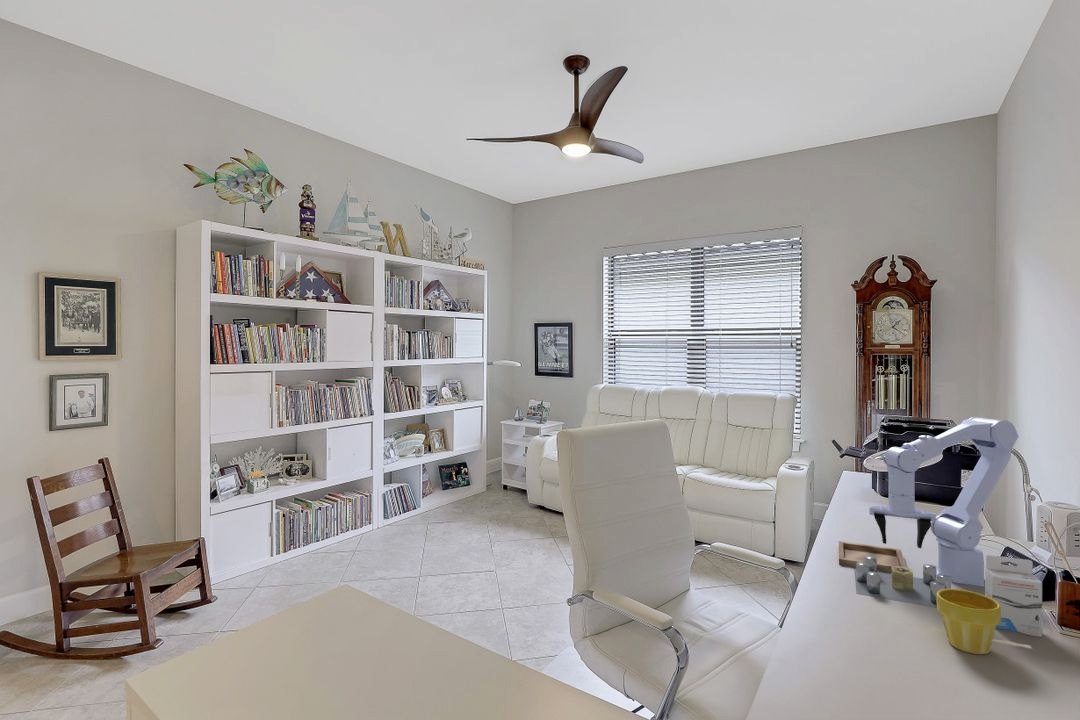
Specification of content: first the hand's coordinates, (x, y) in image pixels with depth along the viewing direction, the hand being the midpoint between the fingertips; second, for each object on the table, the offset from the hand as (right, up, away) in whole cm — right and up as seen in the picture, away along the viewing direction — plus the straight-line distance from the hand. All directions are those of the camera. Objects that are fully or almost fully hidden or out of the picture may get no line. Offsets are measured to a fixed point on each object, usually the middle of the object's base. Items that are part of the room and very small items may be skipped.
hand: (901, 544), depth 142 cm
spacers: (-3, -10, -5) cm, 12 cm away
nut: (-3, -9, -5) cm, 11 cm away
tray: (0, -9, +13) cm, 16 cm away
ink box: (+7, -10, -25) cm, 28 cm away
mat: (-3, -10, -5) cm, 12 cm away
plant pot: (-8, -10, -32) cm, 34 cm away
